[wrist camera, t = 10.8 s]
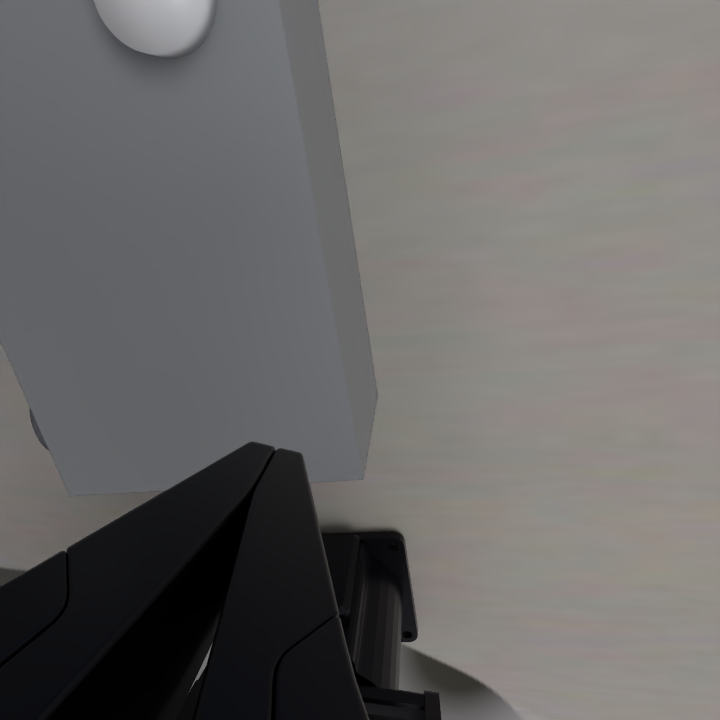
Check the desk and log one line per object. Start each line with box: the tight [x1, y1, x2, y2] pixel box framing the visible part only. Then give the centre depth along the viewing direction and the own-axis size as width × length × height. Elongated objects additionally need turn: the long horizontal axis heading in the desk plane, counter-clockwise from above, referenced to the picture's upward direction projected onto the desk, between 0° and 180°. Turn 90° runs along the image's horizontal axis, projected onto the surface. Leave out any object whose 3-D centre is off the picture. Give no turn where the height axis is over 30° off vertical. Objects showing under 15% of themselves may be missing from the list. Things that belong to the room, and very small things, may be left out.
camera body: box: [0, 0, 378, 496], centre depth 16 cm, size 18×12×6 cm, turn 9°
